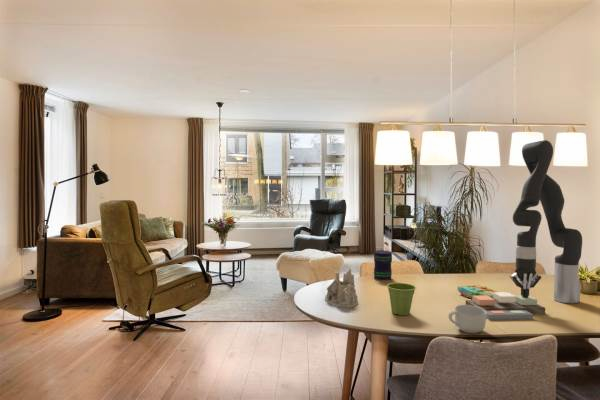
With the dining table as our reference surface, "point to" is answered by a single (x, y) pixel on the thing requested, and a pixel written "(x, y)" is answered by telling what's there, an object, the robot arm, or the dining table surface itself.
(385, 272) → the storage jar
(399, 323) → the dining table surface
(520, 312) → the card
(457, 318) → the teacup
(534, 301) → the key sage
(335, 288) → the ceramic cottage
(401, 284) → the plant pot
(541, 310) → the keypad base
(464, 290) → the puzzle game
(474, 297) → the key terracotta
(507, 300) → the key cream
